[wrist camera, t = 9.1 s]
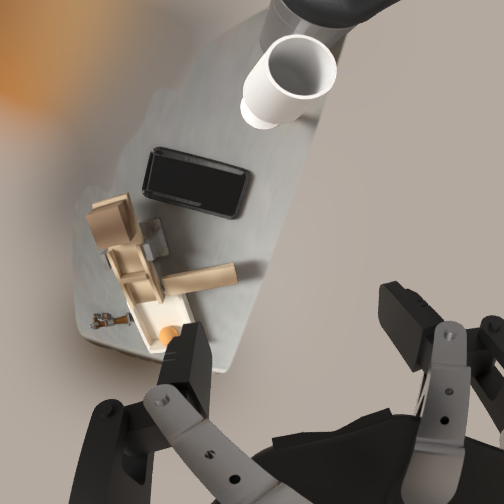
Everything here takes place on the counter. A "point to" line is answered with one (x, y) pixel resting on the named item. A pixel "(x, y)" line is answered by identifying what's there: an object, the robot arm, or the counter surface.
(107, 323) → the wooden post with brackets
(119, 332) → the counter surface
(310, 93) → the champagne flute
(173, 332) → the ball
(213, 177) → the phone
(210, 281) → the lever
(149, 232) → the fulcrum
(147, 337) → the tray
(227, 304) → the counter surface
